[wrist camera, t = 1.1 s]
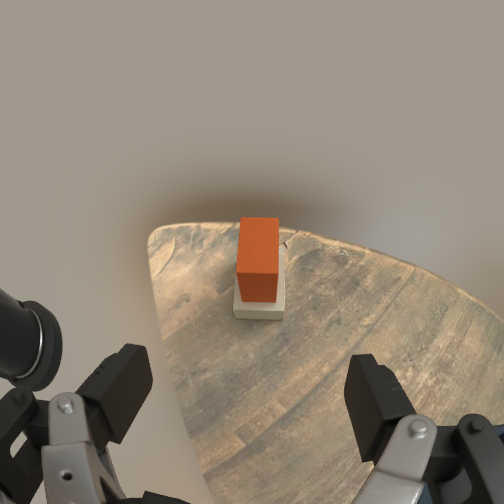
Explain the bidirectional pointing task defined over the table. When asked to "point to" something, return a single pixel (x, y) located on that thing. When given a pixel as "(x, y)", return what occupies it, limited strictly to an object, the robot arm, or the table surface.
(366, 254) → the table surface
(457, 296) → the table surface
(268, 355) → the table surface
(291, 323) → the table surface
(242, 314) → the eraser
